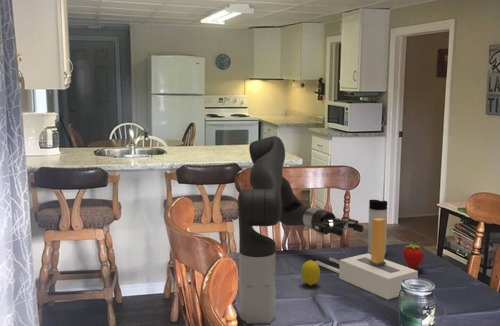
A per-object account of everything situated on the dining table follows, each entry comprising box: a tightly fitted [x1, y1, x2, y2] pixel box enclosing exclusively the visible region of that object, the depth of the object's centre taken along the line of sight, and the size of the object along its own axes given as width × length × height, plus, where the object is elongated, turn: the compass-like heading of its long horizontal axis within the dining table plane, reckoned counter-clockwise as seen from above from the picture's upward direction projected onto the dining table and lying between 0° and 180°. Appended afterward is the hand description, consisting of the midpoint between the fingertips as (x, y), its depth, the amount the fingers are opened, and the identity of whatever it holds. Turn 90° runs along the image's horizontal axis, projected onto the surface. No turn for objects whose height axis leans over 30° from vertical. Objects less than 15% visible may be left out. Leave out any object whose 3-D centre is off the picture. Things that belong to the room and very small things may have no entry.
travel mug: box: [367, 199, 388, 257], centre depth 188 cm, size 6×7×20 cm
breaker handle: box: [369, 218, 386, 266], centre depth 158 cm, size 4×3×14 cm
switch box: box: [338, 252, 419, 301], centre depth 160 cm, size 20×12×6 cm, turn 32°
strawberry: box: [402, 241, 425, 270], centre depth 172 cm, size 6×8×10 cm
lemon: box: [301, 259, 321, 287], centre depth 159 cm, size 6×6×8 cm
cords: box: [314, 257, 340, 274], centre depth 175 cm, size 14×7×1 cm, turn 32°
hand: (352, 230), depth 167 cm, fingers open, 8 cm apart
